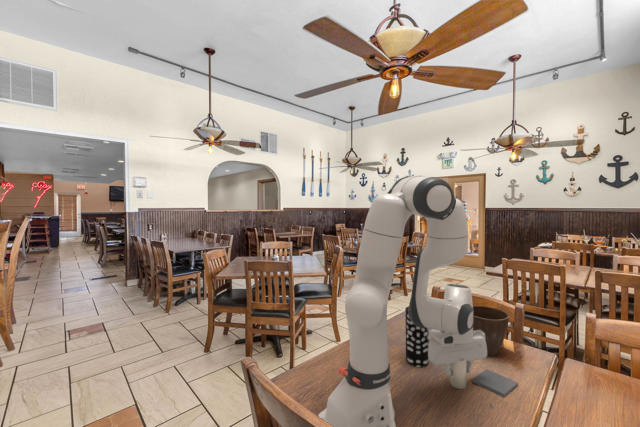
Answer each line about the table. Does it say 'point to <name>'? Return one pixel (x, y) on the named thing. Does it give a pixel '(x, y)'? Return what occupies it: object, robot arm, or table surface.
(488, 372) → the plate
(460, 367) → the shaker
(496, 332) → the plant pot
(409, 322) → the spotted tube
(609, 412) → the table surface
